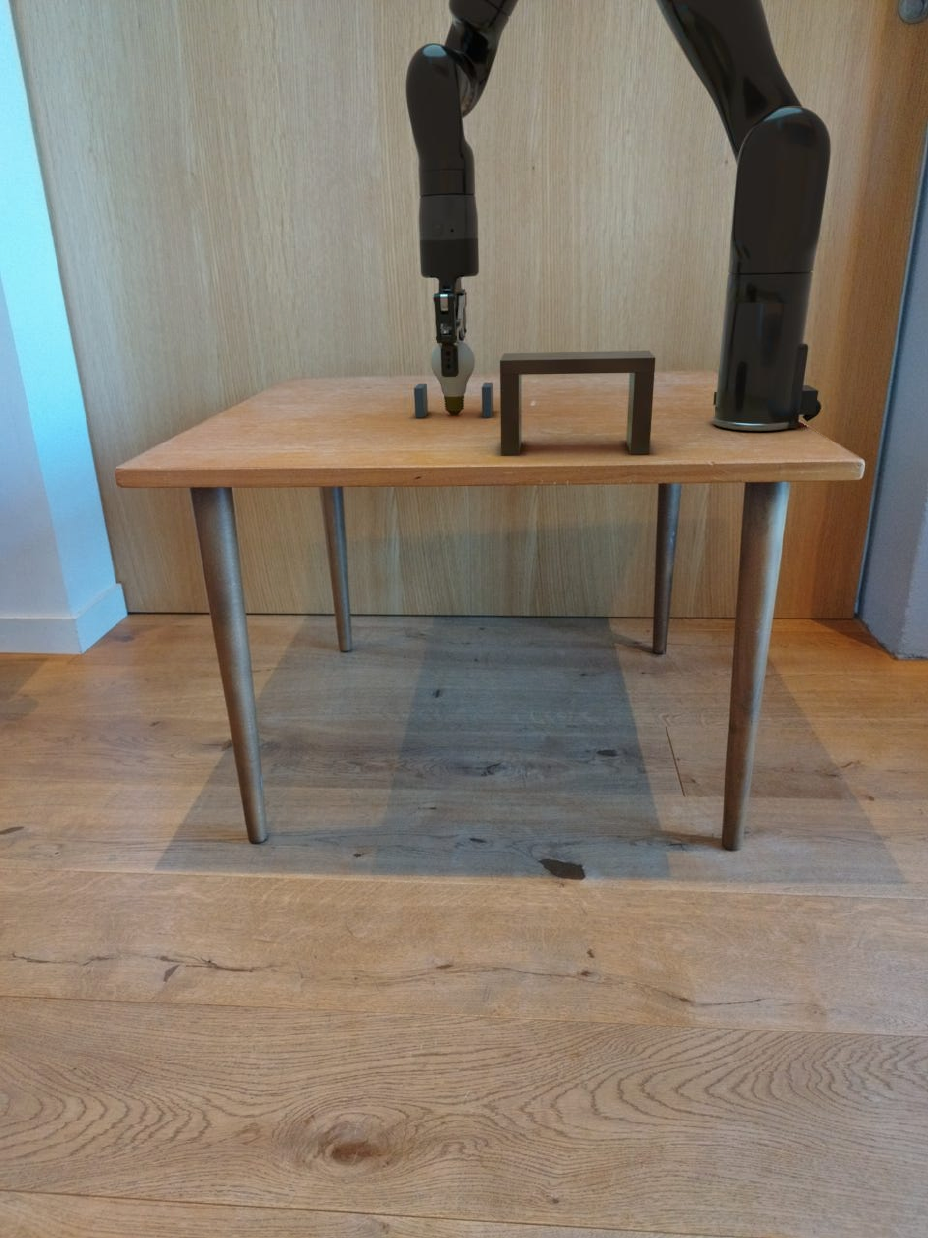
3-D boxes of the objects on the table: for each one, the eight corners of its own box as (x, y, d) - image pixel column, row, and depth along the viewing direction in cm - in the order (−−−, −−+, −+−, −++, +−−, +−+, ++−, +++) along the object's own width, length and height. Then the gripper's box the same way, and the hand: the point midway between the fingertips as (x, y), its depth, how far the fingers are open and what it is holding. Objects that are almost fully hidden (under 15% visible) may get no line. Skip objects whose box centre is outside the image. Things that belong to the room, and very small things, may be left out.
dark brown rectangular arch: (643, 441, 94) (649, 350, 90) (649, 454, 88) (655, 357, 84) (504, 442, 95) (503, 353, 91) (500, 455, 90) (499, 360, 86)
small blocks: (493, 411, 114) (492, 382, 112) (491, 417, 110) (490, 386, 109) (419, 412, 115) (418, 383, 114) (415, 417, 112) (413, 387, 110)
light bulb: (450, 420, 109) (448, 342, 105) (424, 415, 113) (421, 339, 109) (484, 414, 112) (483, 338, 108) (458, 409, 117) (455, 335, 113)
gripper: (472, 234, 97) (475, 380, 104) (483, 236, 110) (485, 366, 117) (410, 236, 98) (417, 381, 105) (427, 238, 111) (433, 367, 118)
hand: (453, 372), depth 111 cm, fingers closed on light bulb, 6 cm apart
